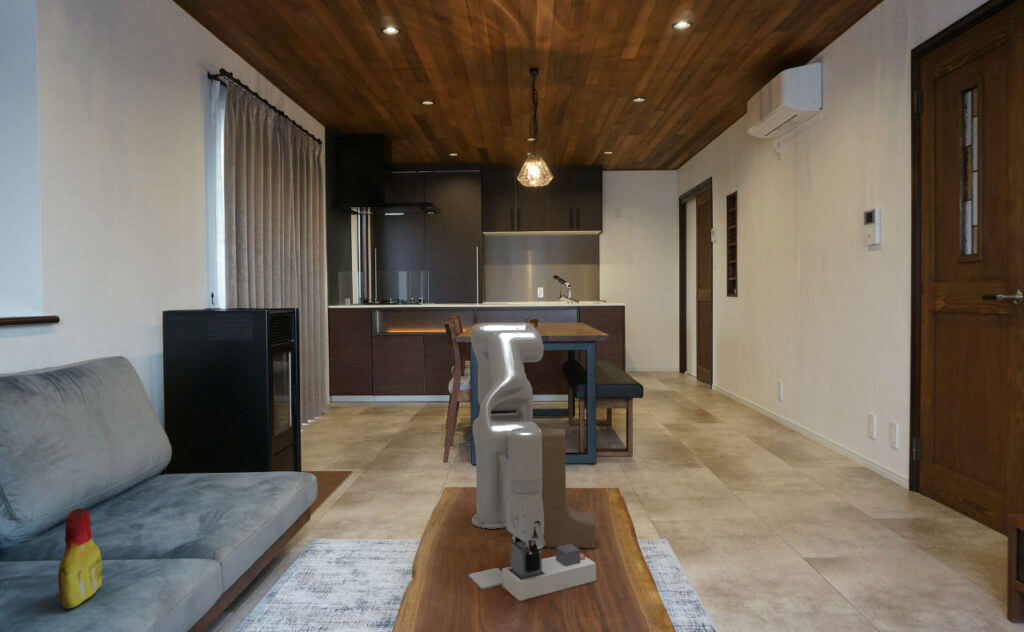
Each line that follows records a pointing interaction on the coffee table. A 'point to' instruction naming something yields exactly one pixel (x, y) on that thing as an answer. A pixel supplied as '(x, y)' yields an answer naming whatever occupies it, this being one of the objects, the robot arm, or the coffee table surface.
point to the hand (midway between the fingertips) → (526, 565)
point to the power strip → (552, 574)
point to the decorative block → (561, 498)
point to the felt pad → (487, 578)
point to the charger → (522, 561)
